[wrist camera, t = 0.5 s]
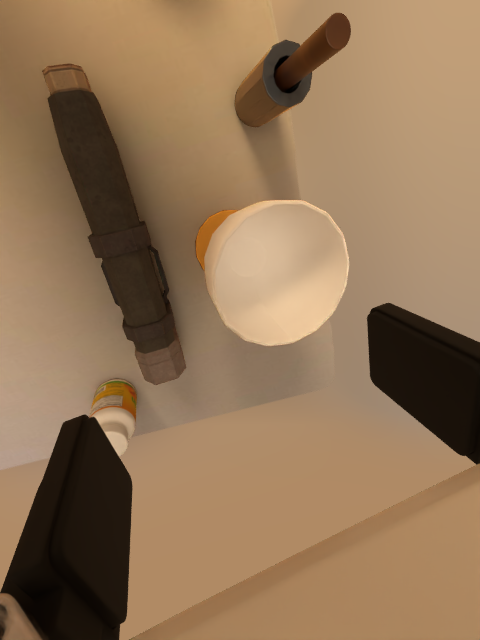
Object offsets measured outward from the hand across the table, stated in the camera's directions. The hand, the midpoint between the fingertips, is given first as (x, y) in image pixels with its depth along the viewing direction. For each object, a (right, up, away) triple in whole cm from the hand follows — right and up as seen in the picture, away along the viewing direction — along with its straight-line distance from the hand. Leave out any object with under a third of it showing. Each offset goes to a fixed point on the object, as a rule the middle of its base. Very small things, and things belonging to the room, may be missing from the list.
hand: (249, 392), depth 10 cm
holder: (+1, +26, +24) cm, 35 cm away
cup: (-2, +12, +29) cm, 31 cm away
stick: (+1, +26, +23) cm, 35 cm away
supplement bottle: (-18, -8, +32) cm, 37 cm away
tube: (-14, +11, +25) cm, 31 cm away
